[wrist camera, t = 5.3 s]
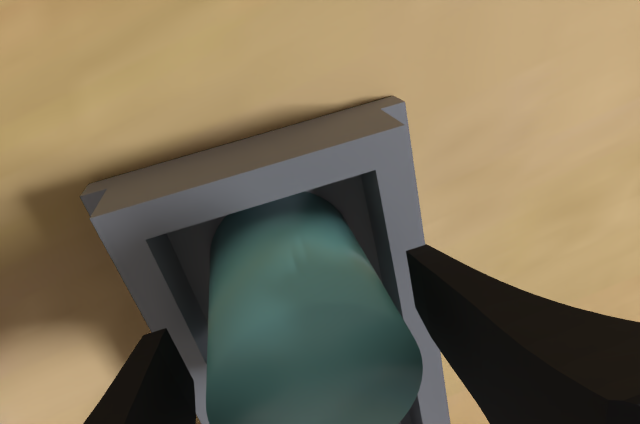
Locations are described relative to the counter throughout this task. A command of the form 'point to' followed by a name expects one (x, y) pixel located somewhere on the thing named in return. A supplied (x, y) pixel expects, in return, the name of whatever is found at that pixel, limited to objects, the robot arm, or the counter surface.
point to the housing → (256, 189)
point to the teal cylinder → (302, 323)
